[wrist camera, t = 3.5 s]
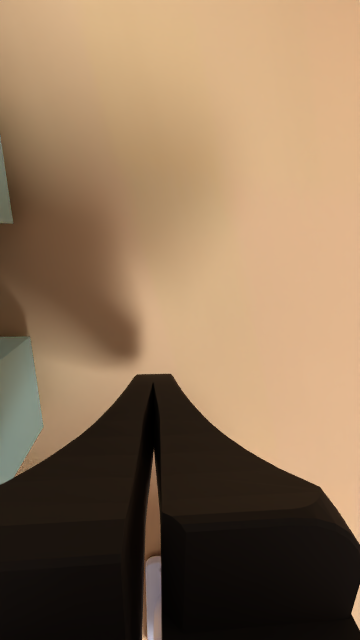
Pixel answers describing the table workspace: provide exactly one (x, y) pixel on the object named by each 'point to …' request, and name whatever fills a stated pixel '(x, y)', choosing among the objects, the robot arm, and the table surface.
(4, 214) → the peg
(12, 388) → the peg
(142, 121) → the table surface
